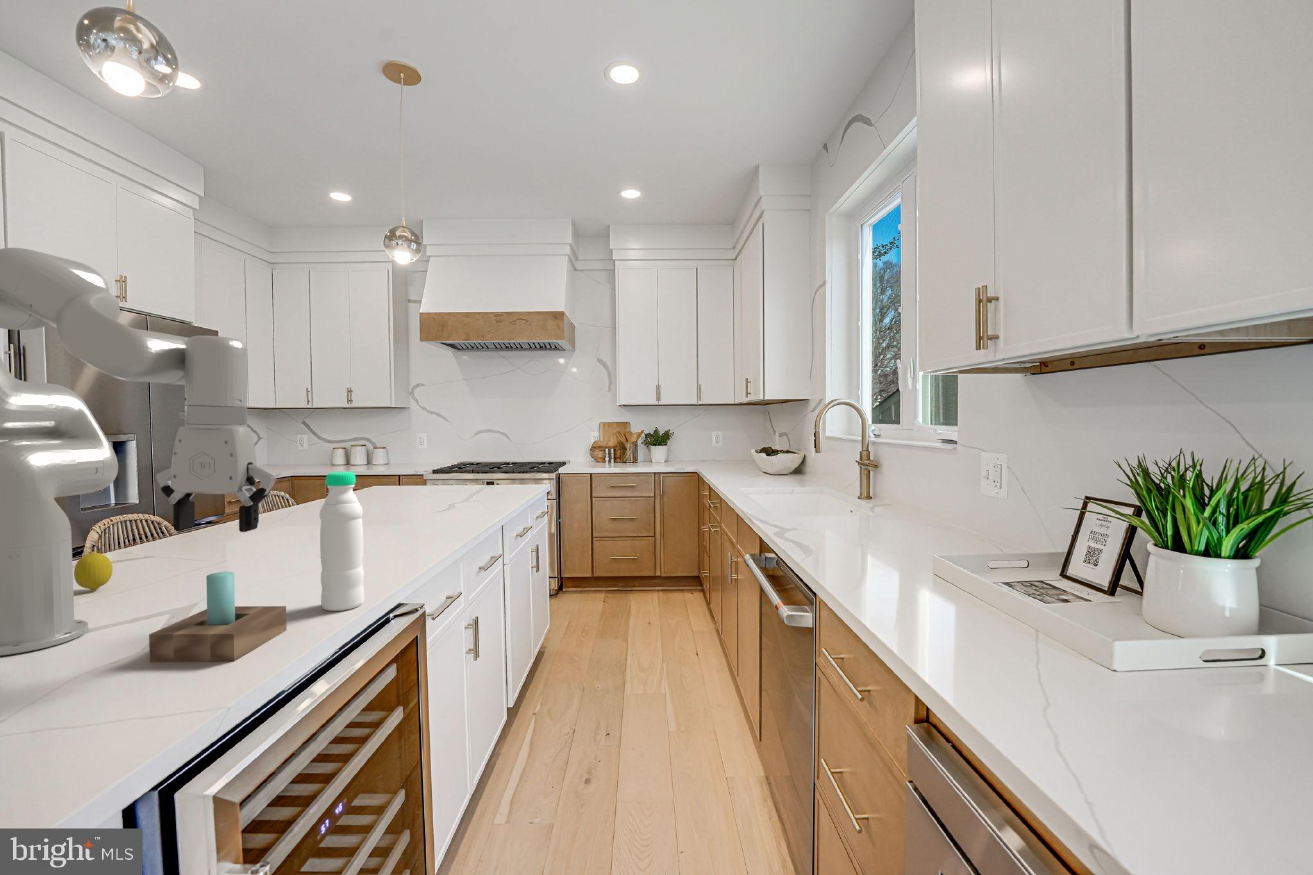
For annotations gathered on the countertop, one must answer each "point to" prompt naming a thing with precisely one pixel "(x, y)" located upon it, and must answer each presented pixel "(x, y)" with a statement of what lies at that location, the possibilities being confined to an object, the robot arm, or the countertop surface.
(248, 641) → the socket block
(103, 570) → the lemon
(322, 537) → the water bottle
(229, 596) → the dowel
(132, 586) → the countertop surface
